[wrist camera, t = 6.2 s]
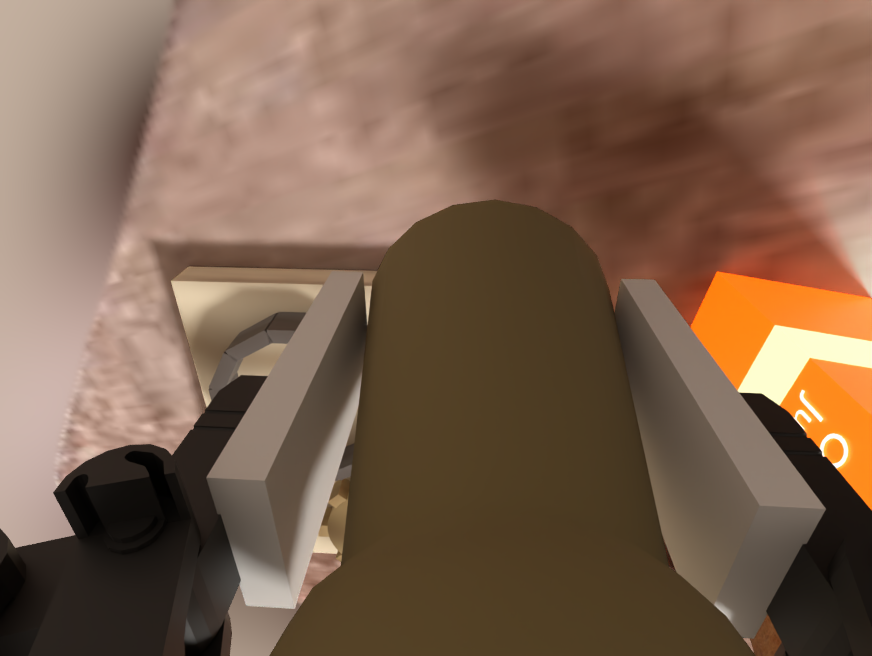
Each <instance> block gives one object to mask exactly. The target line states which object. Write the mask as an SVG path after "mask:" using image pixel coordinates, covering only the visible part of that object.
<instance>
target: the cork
mask: <svg viewBox="0 0 872 656" xmlns="http://www.w3.org/2000/svg"><path fill="white" fill-rule="evenodd" d="M270 656H756V655H755V654H754V653H753V651H752V650H751V649H750V647H749V646H748V645H747V643H746V642H745V641H744V639H743V638H742V637H741V635H740V634H739V633H738V631H737V630H736V629H735V627H734V626H733V624H732V623H731V622H730V620H729V619H728V618H727V616H726V615H725V614H723V613H722V612H721V611H720V610H719V609H718V608H717V607H716V606H715V605H713V604H712V603H711V602H710V601H709V600H708V599H707V598H706V597H704V596H703V595H702V594H701V593H700V592H699V591H698V590H697V589H695V588H694V587H693V586H692V585H691V584H690V583H689V582H688V581H686V580H685V579H684V578H683V577H682V576H681V575H679V574H678V573H676V572H675V571H673V570H672V569H670V568H669V564H668V559H667V555H666V550H665V545H664V541H663V536H662V532H661V527H660V522H659V518H658V513H657V508H656V504H655V499H654V495H653V490H652V485H651V481H650V476H649V471H648V467H647V462H646V458H645V453H644V448H643V444H642V439H641V434H640V430H639V425H638V421H637V416H636V411H635V407H634V402H633V397H632V393H631V388H630V384H629V379H628V374H627V370H626V365H625V360H624V356H623V351H622V347H621V342H620V337H619V333H618V328H617V323H616V319H615V314H614V310H613V305H612V300H611V296H610V291H609V287H608V285H607V282H606V279H605V277H604V274H603V271H602V268H601V266H600V263H599V260H598V258H597V255H596V254H595V253H594V252H593V251H592V249H591V248H590V247H589V246H588V245H587V244H586V243H585V241H584V240H583V239H582V238H581V237H580V236H579V235H578V233H577V232H576V231H575V230H574V229H573V228H572V227H571V226H569V225H567V224H566V223H564V222H562V221H560V220H558V219H557V218H555V217H553V216H551V215H549V214H548V213H546V212H544V211H542V210H540V209H539V208H537V207H532V206H527V205H521V204H516V203H511V202H505V201H500V200H488V201H480V202H473V203H465V204H457V205H452V206H450V207H448V208H446V209H444V210H441V211H439V212H437V213H435V214H433V215H431V216H429V217H427V218H424V219H422V220H420V221H418V222H416V223H415V224H414V225H413V226H412V227H411V228H410V229H409V230H408V231H407V232H406V233H405V234H403V235H402V236H401V237H400V238H399V239H398V240H397V241H396V242H395V243H394V244H393V245H392V246H391V247H390V248H389V249H388V251H387V253H386V255H385V257H384V259H383V261H382V263H381V265H380V267H379V269H378V271H377V273H376V275H375V277H374V279H373V281H372V289H371V298H370V307H369V316H368V325H367V334H366V343H365V352H364V361H363V370H362V379H361V388H360V397H359V406H358V415H357V424H356V433H355V442H354V451H353V460H352V469H351V478H350V487H349V496H348V506H347V515H346V524H345V533H344V542H343V551H342V560H341V566H340V567H339V568H338V569H336V570H335V571H334V572H333V573H331V574H330V575H329V576H327V577H326V578H325V579H324V580H322V581H321V582H320V583H318V584H317V585H316V586H315V587H313V588H312V590H311V591H310V593H309V594H308V596H307V597H306V599H305V600H304V602H303V603H302V605H301V606H300V608H299V609H298V611H297V612H296V614H295V615H294V617H293V618H292V620H291V621H290V623H289V624H288V626H287V627H286V629H285V631H284V632H283V634H282V636H281V637H280V639H279V641H278V642H277V644H276V646H275V648H274V649H273V651H272V652H271V654H270Z"/></svg>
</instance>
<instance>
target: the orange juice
mask: <svg viewBox="0 0 872 656" xmlns="http://www.w3.org/2000/svg"><path fill="white" fill-rule="evenodd" d="M690 328H691V329H692V330H693V332H694V333H695V334H696V336H697V337H698V338H699V340H700V341H701V342H702V344H703V345H704V346H705V348H706V349H707V350H708V352H709V353H710V354H711V356H712V357H713V358H714V360H715V361H716V362H717V364H718V365H719V366H720V368H721V369H722V371H723V372H724V373H725V375H726V376H727V377H728V379H729V380H730V381H731V383H732V384H733V385H734V387H735V388H736V389H737V391H738V392H741V393H762V394H764V395H765V396H766V397H768V398H769V399H771V400H772V401H774V402H775V403H777V404H778V405H780V406H781V407H782V408H784V409H785V410H787V411H788V412H789V413H790V414H791V415H792V416H793V417H794V419H795V420H796V421H797V422H798V423H799V424H800V426H801V427H802V428H803V429H804V430H805V432H806V433H807V438H811V439H812V440H813V441H814V442H815V443H816V445H817V446H818V447H819V448H820V449H821V451H822V455H823V456H826V457H827V458H828V459H829V460H830V461H831V462H832V464H833V465H834V466H835V467H836V468H837V470H838V471H839V472H840V473H841V474H842V476H843V477H844V478H845V479H846V480H847V481H848V483H849V484H850V485H851V486H852V487H853V489H854V490H855V491H856V492H857V493H858V495H859V496H860V497H861V498H862V499H863V500H864V502H865V503H866V504H867V505H868V506H869V508H870V509H871V510H872V298H868V297H862V296H857V295H851V294H845V293H839V292H833V291H828V290H822V289H816V288H810V287H804V286H799V285H793V284H787V283H781V282H775V281H770V280H764V279H758V278H752V277H746V276H741V275H735V274H729V273H723V272H716V275H715V277H714V279H713V281H712V283H711V285H710V287H709V289H708V291H707V294H706V296H705V298H704V300H703V302H702V304H701V306H700V308H699V310H698V312H697V315H696V317H695V319H694V321H693V323H692V325H691V327H690Z"/></svg>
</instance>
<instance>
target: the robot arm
mask: <svg viewBox="0 0 872 656" xmlns="http://www.w3.org/2000/svg"><path fill="white" fill-rule="evenodd" d="M614 314H615V319H616V323H617V328H618V333H619V337H620V342H621V347H622V351H623V356H624V360H625V365H626V370H627V374H628V379H629V384H630V388H631V393H632V397H633V402H634V407H635V411H636V416H637V421H638V425H639V430H640V434H641V439H642V444H643V448H644V453H645V458H646V462H647V467H648V471H649V476H650V481H651V485H652V490H653V495H654V499H655V504H656V508H657V513H658V518H659V522H660V527H661V532H662V535H663V538H664V541H665V543H666V546H667V549H668V551H669V554H670V557H671V559H672V562H673V565H674V567H675V570H676V572H677V573H678V574H679V575H681V576H682V577H683V578H684V579H685V580H686V581H688V582H689V583H690V584H691V585H692V586H693V587H694V588H695V589H697V590H698V591H699V592H700V593H701V594H702V595H703V596H704V597H706V598H707V599H708V600H709V601H710V602H711V603H712V604H713V605H715V606H716V607H717V608H718V609H719V610H720V611H721V612H722V613H723V614H725V615H726V616H727V618H728V619H729V620H730V622H731V623H732V624H733V626H734V627H735V629H736V630H737V631H738V633H739V634H740V635H741V637H742V638H752V639H754V637H755V636H756V634H757V632H758V630H759V628H760V627H761V625H762V623H763V621H764V619H765V618H766V616H767V614H768V616H769V618H770V620H771V622H772V624H773V626H774V628H775V630H776V632H777V634H778V636H779V638H780V640H781V644H780V646H779V647H778V649H777V651H776V652H775V654H774V656H872V510H871V509H870V508H869V506H868V505H867V504H866V503H865V502H864V500H863V499H862V498H861V497H860V496H859V495H858V493H857V492H856V491H855V490H854V489H853V487H852V486H851V485H850V484H849V483H848V481H847V480H846V479H845V478H844V477H843V476H842V474H841V473H840V472H839V471H838V470H837V468H836V467H835V466H834V465H833V464H832V462H831V461H830V460H829V459H828V458H827V457H826V456H823V455H822V451H821V449H820V448H819V447H818V446H817V445H816V443H815V442H814V441H813V440H812V439H811V438H807V433H806V432H805V430H804V429H803V428H802V427H801V426H800V424H799V423H798V422H797V421H796V420H795V419H794V417H793V416H792V415H791V414H790V413H789V412H788V411H787V410H785V409H784V408H782V407H781V406H780V405H778V404H777V403H775V402H774V401H772V400H771V399H769V398H768V397H766V396H765V395H764V394H762V393H741V392H738V391H737V389H736V388H735V387H734V385H733V384H732V383H731V381H730V380H729V379H728V377H727V376H726V375H725V373H724V372H723V371H722V369H721V368H720V366H719V365H718V364H717V362H716V361H715V360H714V358H713V357H712V356H711V354H710V353H709V352H708V350H707V349H706V348H705V346H704V345H703V344H702V342H701V341H700V340H699V338H698V337H697V336H696V334H695V333H694V332H693V330H692V329H691V328H690V326H689V325H688V324H687V322H686V321H685V320H684V318H683V317H682V316H681V314H680V313H679V312H678V310H677V309H676V308H675V306H674V305H673V304H672V302H671V301H670V300H669V298H668V297H667V296H666V294H665V293H664V292H663V290H662V289H661V288H660V286H659V285H658V284H657V282H656V281H655V280H647V279H621V282H620V287H619V292H618V297H617V302H616V307H615V312H614ZM366 334H367V314H366V301H365V288H364V275H363V272H347V271H332V272H331V273H330V275H329V277H328V278H327V280H326V282H325V283H324V285H323V287H322V288H321V290H320V292H319V293H318V295H317V296H316V298H315V300H314V301H313V303H312V305H311V306H310V308H309V310H308V311H307V313H306V315H305V316H304V318H303V319H302V321H301V323H300V324H299V326H298V328H297V329H296V331H295V333H294V334H293V336H292V338H291V339H290V341H289V342H288V344H287V346H286V347H285V349H284V351H283V352H282V354H281V356H280V357H279V359H278V360H277V362H276V364H275V365H274V367H273V369H272V370H271V372H270V374H269V375H268V376H255V375H240V376H239V377H238V378H236V379H235V380H233V381H232V382H231V383H229V384H228V385H226V386H225V387H224V388H222V389H221V390H219V391H218V393H217V394H216V396H215V397H214V398H213V400H212V401H211V402H210V404H209V405H208V407H207V408H206V409H205V414H202V415H201V416H200V418H199V419H198V420H197V422H196V423H195V425H194V429H193V430H190V432H189V433H188V434H187V436H186V437H185V438H184V440H183V441H182V443H181V444H180V445H179V447H178V448H177V450H176V451H175V452H174V454H173V455H171V454H170V453H169V452H168V451H167V450H166V449H164V448H161V447H158V446H154V445H151V444H146V445H128V446H125V447H121V448H117V449H113V450H109V451H107V452H104V453H102V454H100V455H98V456H96V457H94V458H92V459H90V460H88V461H86V462H84V463H83V464H82V465H80V466H79V467H78V468H76V469H75V470H74V471H72V472H71V473H70V474H68V475H67V476H66V477H65V478H64V480H63V481H62V482H61V483H60V485H59V486H58V487H57V488H56V490H55V491H54V492H53V493H54V495H55V497H56V499H57V501H58V503H59V504H60V506H61V508H62V510H63V512H64V514H65V516H66V518H67V519H68V522H69V523H70V525H71V527H72V529H73V531H74V533H75V535H74V536H70V537H65V538H61V539H55V540H51V541H46V542H41V543H37V544H32V545H27V546H22V547H18V548H15V547H14V546H13V544H12V543H11V541H10V539H9V538H8V537H7V536H6V534H5V533H4V532H3V531H2V530H1V529H0V656H230V647H231V637H232V631H231V622H230V617H229V614H228V610H229V607H230V605H231V603H232V600H233V598H234V596H235V593H236V591H237V589H238V586H239V584H240V587H241V591H242V594H243V597H244V600H245V603H246V606H259V607H274V608H290V609H295V606H296V603H297V600H298V597H299V594H300V590H301V587H302V584H303V581H304V578H305V574H306V571H307V568H308V565H309V562H310V559H311V555H312V552H313V549H314V546H315V543H316V539H317V536H318V533H319V530H320V527H321V523H322V520H323V517H324V514H325V511H326V508H327V504H328V501H329V498H330V495H331V492H332V488H333V485H334V482H335V479H336V476H337V472H338V469H339V466H340V463H341V460H342V456H343V453H344V450H345V447H346V444H347V441H348V437H349V434H350V431H351V428H352V425H353V421H354V418H355V415H356V412H357V409H358V405H359V397H360V388H361V379H362V370H363V361H364V352H365V343H366Z"/></svg>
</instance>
